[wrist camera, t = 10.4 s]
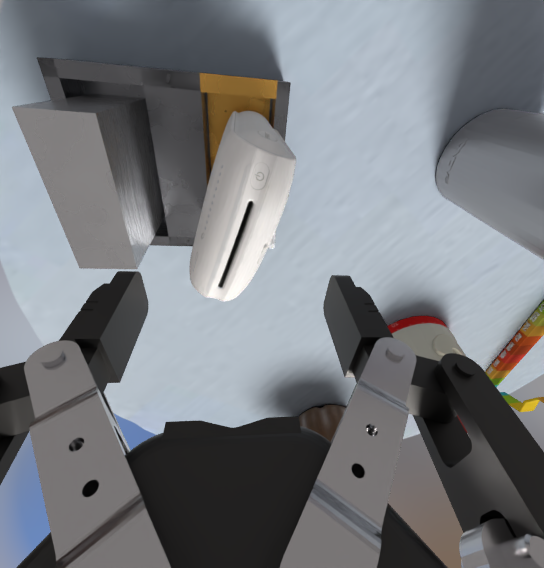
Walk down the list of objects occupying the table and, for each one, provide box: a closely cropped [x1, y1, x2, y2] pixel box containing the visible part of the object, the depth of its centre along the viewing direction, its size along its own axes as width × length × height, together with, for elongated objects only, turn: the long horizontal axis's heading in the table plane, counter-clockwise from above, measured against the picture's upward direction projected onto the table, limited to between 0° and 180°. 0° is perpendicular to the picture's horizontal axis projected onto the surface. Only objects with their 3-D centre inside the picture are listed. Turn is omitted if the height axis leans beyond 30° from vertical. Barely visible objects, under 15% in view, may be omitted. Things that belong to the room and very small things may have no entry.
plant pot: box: [299, 405, 346, 442], centre depth 55 cm, size 16×16×16 cm
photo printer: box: [190, 111, 296, 301], centre depth 19 cm, size 10×4×12 cm, turn 158°
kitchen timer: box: [387, 316, 467, 432], centre depth 42 cm, size 14×14×15 cm
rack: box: [12, 57, 290, 269], centre depth 22 cm, size 17×14×11 cm
